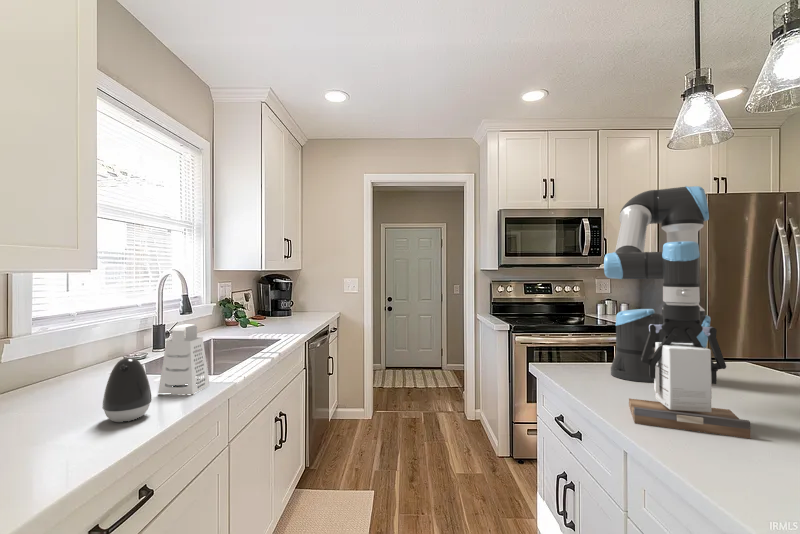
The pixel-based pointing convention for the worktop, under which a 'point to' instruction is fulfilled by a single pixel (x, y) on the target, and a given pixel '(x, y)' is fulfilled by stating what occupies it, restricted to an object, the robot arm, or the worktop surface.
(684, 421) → the shelf board
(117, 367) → the black egg-shaped figure
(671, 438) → the worktop surface
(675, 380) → the supplement box
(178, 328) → the grater
